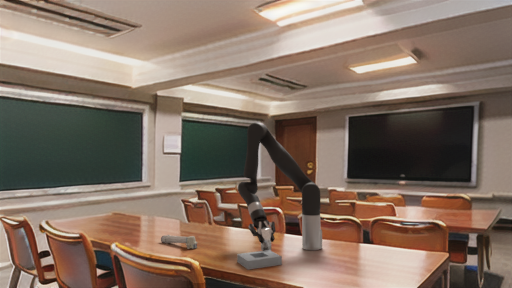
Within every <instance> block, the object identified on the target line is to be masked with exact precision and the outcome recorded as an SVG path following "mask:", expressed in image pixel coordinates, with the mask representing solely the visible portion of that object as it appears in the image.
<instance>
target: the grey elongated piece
mask: <svg viewBox="0 0 512 288" xmlns="http://www.w3.org/2000/svg"><path fill="white" fill-rule="evenodd" d="M160 242H161V243H162V242H163V243H164V244H185V245H186V249H187V250H191V249H193V250H194V249H197V248H198V241H196V237H195V235H191V236H180V235H170V234H167V235H162V236H161V238H160Z"/></svg>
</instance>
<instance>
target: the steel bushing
mask: <svg viewBox="0 0 512 288" xmlns="http://www.w3.org/2000/svg"><path fill="white" fill-rule="evenodd" d="M261 235H262V237H263V240H264V242H263V243H261V242H260V251H265V250H270V251H272V242H271V227H270V228H261Z"/></svg>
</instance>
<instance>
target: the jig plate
mask: <svg viewBox="0 0 512 288" xmlns="http://www.w3.org/2000/svg"><path fill="white" fill-rule="evenodd" d="M236 261H237V263H238V264H239V265H241V266H242V267H244V268H245V269H246V270H254V269H261V268H269V267H274V266H275V267H276V266H282V265H283V257H282V255H279V254H278V253H276V252H274V251H272V250H265V251H262V250H259V251H258V250H257V251H251V252H250V251H249V252H244V253H243V252H242V253H237V254H236Z"/></svg>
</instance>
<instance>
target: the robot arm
mask: <svg viewBox="0 0 512 288" xmlns="http://www.w3.org/2000/svg"><path fill="white" fill-rule="evenodd" d="M246 135H247V137H246V139H247V144H246V145H247V146H246V148H247V149H246V158H245V163H244V168H243V169H244V170H243V178H246V179H249V180H250V181H241V182H239V184H238V186H237V191H238V194H239V196H241V198H242V199H243V201H244V202H245V203H246V206H247V210H248V214H249V216H250V219H251V222H252V223H249V225H248V230H249V231H250V232H251V234H252V236H253V237H257V239H258V241H259V242H260V244H261V243H263V242H264V240H263V237H262V235H261V228H271V243H274V242H275V235H274V234H275V232H276V231H277V230H276V223H275V221H269V220H268V218H267V215H266V212H265V210H264V209H265V208H264V207H263V204H262V203H261V201H260V199H259V196H258V195H257V192H258V191H259V190H258V188H259V187H258V178H257V173H258V168H259V149H260V144H261V145H262V146H263V147H264V148H265V150H266V151H267V152H268V153H267V154H268V155H269V157H270V159H271V160H272V163H274V165H275V166H276V167H277V168H278V169H279V171H280V172H281V173H283V175H285V176H286V178H288V179H289V180H291V181H292V182H293V183H294V185H295V186H296V187H297V188H298V190H299V191H300V193H301V220H302V221H301V232H302V234H301V235H302V236H301V240H302V241H301V243H302V245H301V246H302V247H301V248H302V249H304V250H307V251H318V250H321V249H323V230H322V229H321V190H320V187H319V186H318V185H317V184H316V183H315V182H314V181H312V180H311V179H310V178H309V177H308V176H307V174H305V172H304V171H303V170H302V169H301V167H300V166H299V164H298V163H297V161H296V160H295V159H294V157H293V156H292V155H291V154H290V153H289V152H288V151H287V150H286V148H285V147H284V146H283V145H282V144H281V143H280V142H278V141H277V139H276V138H275V137H274V136H273V134H272V132H270V130H269V129H268V127H267V126H266V124H264V123H263V122H259V121H258V122H252V123H251V124H249V125H248V127H247V134H246Z"/></svg>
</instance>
